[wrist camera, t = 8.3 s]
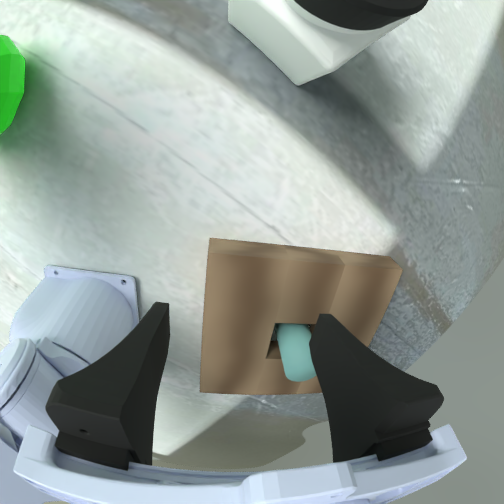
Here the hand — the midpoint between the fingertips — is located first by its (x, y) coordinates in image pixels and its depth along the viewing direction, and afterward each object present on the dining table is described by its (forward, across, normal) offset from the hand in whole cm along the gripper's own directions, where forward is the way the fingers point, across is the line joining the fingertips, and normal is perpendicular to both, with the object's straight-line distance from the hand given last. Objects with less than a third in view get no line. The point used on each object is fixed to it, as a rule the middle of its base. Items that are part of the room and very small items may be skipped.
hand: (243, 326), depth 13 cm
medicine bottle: (+10, -2, -17) cm, 20 cm away
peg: (+10, -6, +8) cm, 14 cm away
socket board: (+10, -6, +8) cm, 14 cm away
